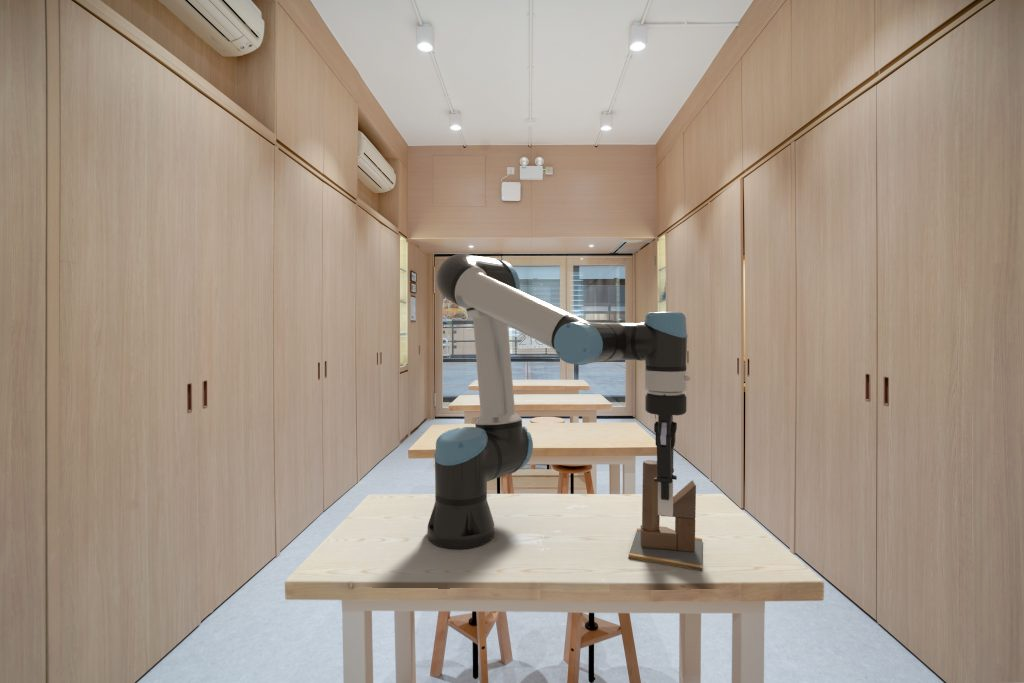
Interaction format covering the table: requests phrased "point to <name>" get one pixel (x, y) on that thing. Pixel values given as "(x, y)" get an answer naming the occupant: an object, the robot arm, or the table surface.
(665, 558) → the mat
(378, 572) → the table surface
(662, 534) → the wooden block assembly
